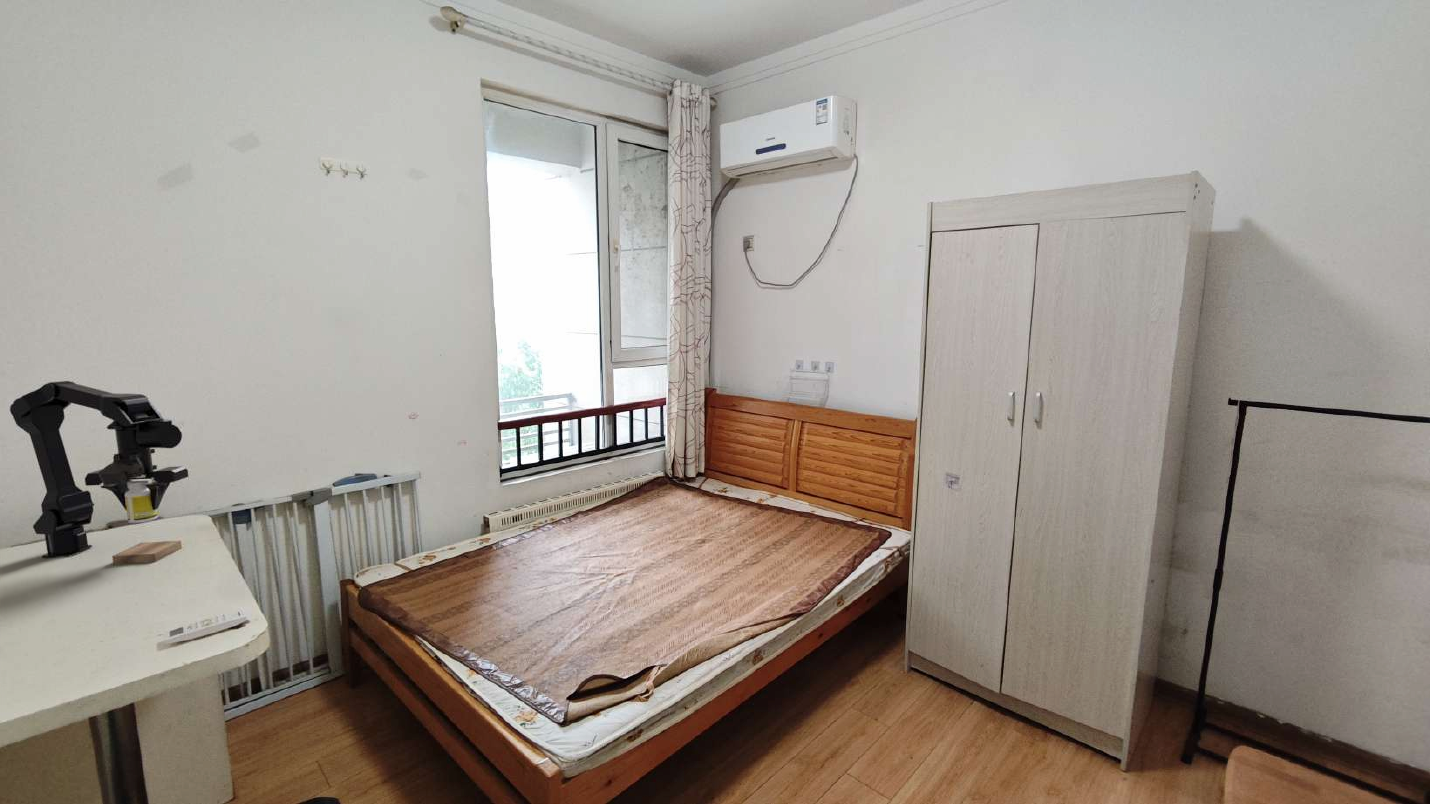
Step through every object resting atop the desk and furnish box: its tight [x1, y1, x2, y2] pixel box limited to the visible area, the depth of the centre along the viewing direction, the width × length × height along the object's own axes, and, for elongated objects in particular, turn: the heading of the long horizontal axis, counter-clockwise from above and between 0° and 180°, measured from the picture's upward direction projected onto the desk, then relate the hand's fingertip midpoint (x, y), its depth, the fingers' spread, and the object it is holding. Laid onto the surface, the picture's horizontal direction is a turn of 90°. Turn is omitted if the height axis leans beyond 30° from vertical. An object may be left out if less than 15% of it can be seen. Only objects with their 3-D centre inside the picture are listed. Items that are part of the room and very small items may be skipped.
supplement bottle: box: [125, 479, 159, 524], centre depth 150 cm, size 5×5×10 cm
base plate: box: [112, 540, 182, 565], centre depth 152 cm, size 9×9×2 cm
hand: (142, 510), depth 151 cm, fingers closed on supplement bottle, 5 cm apart
